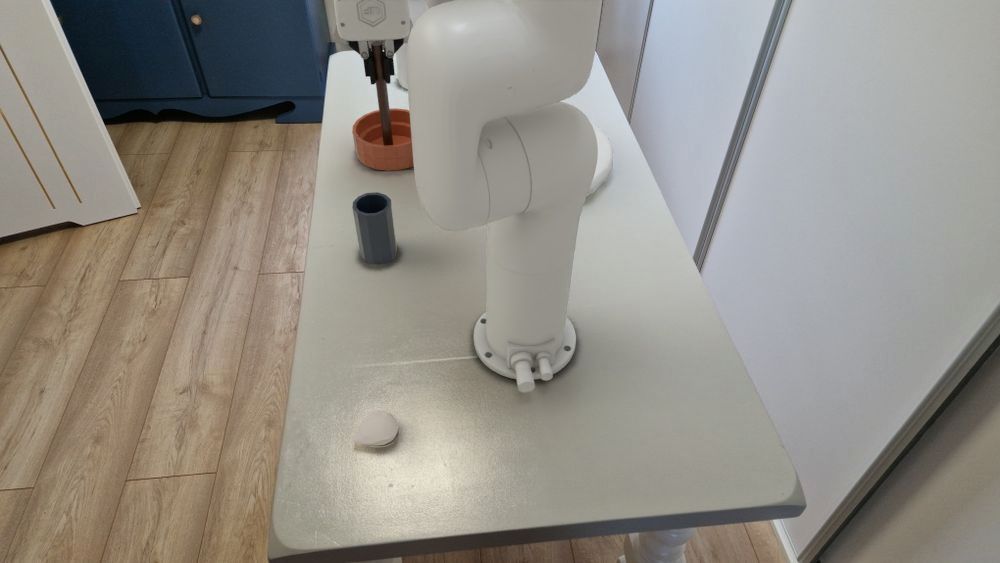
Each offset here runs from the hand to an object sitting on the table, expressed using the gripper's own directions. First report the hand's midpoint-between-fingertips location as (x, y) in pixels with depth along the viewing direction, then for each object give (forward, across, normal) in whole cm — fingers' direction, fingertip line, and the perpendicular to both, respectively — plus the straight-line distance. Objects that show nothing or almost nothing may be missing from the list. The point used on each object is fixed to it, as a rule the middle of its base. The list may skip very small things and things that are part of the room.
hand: (380, 79), depth 99 cm
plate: (+15, +22, -3) cm, 27 cm away
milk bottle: (+15, +6, +28) cm, 32 cm away
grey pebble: (+15, -2, -53) cm, 55 cm away
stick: (+13, 0, 0) cm, 13 cm away
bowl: (+15, 0, +3) cm, 15 cm away
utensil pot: (+15, -2, -23) cm, 28 cm away
